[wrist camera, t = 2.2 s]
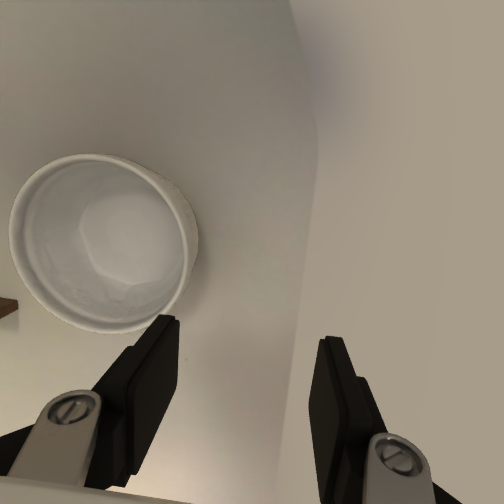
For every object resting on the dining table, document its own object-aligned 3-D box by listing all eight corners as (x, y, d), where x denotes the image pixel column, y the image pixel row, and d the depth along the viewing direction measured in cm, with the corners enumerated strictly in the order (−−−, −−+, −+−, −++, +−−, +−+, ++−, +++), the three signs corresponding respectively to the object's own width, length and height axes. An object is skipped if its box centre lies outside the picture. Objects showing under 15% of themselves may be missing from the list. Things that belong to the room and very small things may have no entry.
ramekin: (131, 121, 26) (81, 106, 20) (241, 235, 28) (229, 257, 21) (41, 227, 30) (-28, 245, 23) (145, 324, 31) (109, 367, 25)
